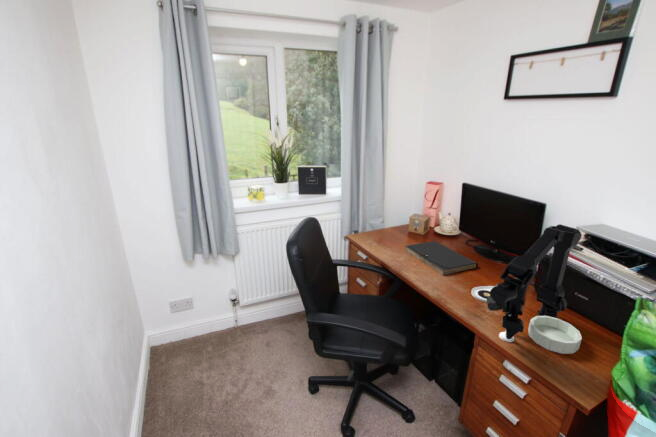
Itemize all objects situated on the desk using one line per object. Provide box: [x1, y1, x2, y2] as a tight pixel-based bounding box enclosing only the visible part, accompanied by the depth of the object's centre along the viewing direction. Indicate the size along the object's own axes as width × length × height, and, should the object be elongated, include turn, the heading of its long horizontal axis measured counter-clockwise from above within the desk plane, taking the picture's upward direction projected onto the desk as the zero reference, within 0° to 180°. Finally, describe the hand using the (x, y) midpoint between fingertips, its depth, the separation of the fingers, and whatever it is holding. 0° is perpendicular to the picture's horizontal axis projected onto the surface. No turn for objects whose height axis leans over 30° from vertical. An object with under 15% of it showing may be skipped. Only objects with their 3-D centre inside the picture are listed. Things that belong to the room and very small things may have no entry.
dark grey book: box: [405, 240, 479, 276], centre depth 178 cm, size 33×4×24 cm
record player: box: [470, 283, 499, 303], centre depth 142 cm, size 12×3×20 cm
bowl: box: [528, 315, 583, 355], centre depth 113 cm, size 15×15×4 cm
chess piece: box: [498, 315, 515, 343], centre depth 113 cm, size 5×5×10 cm
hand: (507, 331), depth 114 cm, fingers open, 8 cm apart
